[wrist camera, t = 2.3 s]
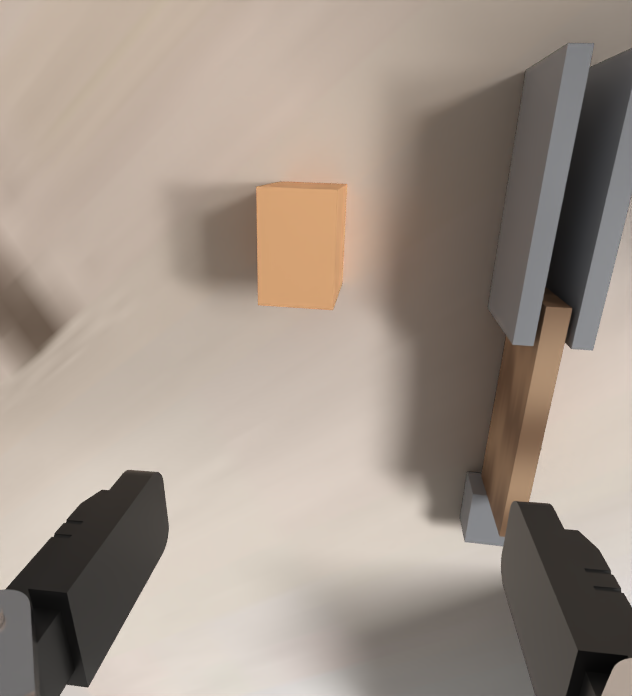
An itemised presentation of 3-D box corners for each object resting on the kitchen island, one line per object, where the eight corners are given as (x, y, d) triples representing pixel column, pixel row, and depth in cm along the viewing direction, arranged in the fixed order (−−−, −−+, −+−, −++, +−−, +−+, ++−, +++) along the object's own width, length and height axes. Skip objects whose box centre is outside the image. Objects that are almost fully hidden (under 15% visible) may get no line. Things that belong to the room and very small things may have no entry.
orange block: (280, 181, 30) (256, 186, 24) (347, 184, 29) (337, 189, 24) (280, 279, 32) (257, 305, 26) (342, 283, 31) (332, 310, 26)
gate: (516, 278, 29) (546, 306, 24) (537, 280, 29) (572, 308, 24) (481, 475, 34) (499, 536, 29) (498, 477, 34) (520, 538, 29)
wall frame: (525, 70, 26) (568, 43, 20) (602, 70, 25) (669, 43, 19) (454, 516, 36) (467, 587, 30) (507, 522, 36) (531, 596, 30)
